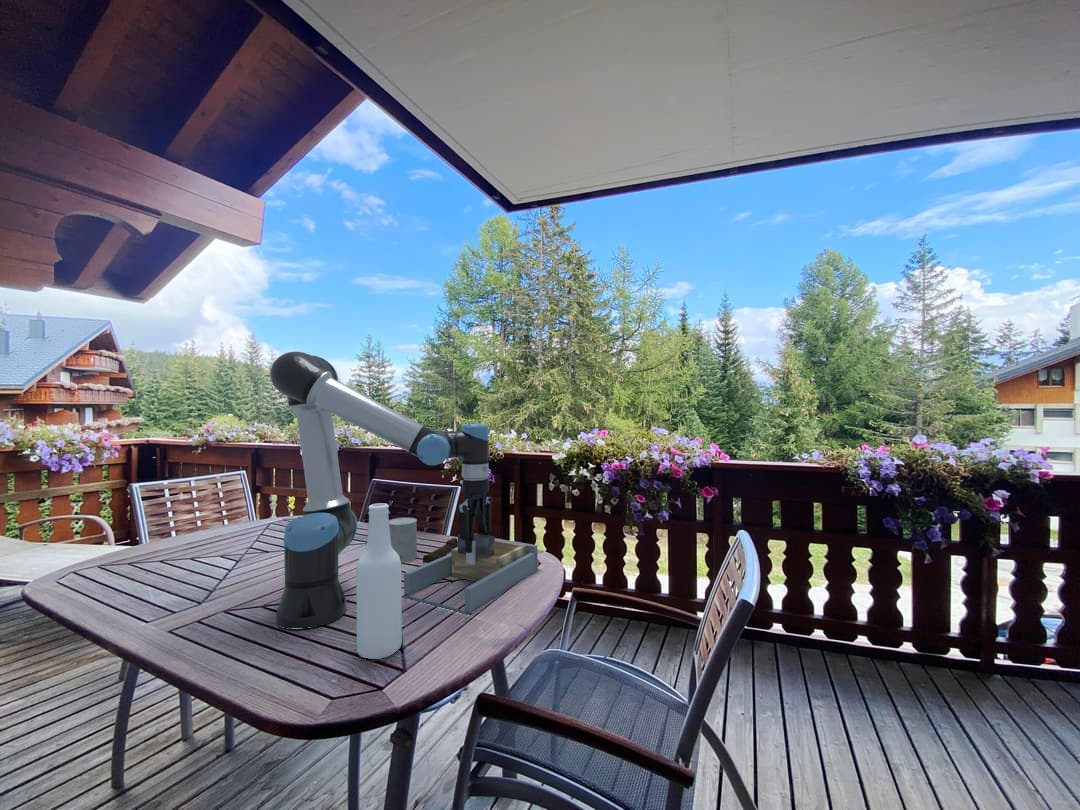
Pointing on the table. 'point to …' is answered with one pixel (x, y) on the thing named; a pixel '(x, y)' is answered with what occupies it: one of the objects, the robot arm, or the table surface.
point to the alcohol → (379, 590)
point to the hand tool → (441, 551)
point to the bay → (479, 589)
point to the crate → (485, 557)
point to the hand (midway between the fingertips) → (476, 560)
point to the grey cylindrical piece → (404, 537)
